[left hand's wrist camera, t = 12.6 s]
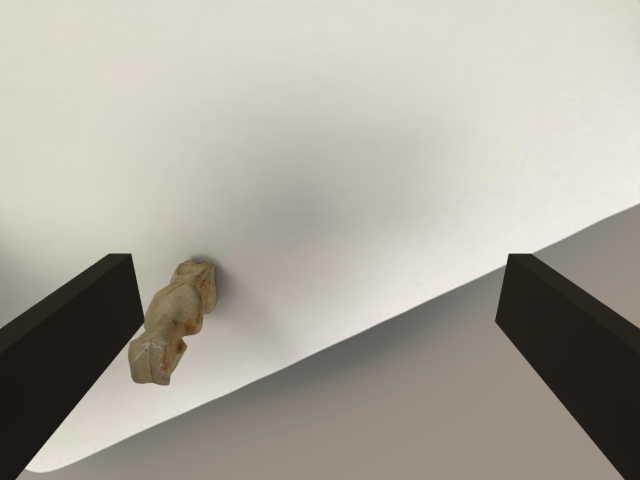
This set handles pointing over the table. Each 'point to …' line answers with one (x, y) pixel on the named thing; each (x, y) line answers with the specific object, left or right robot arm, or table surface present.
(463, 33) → the table surface
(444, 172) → the table surface
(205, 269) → the sculpture
